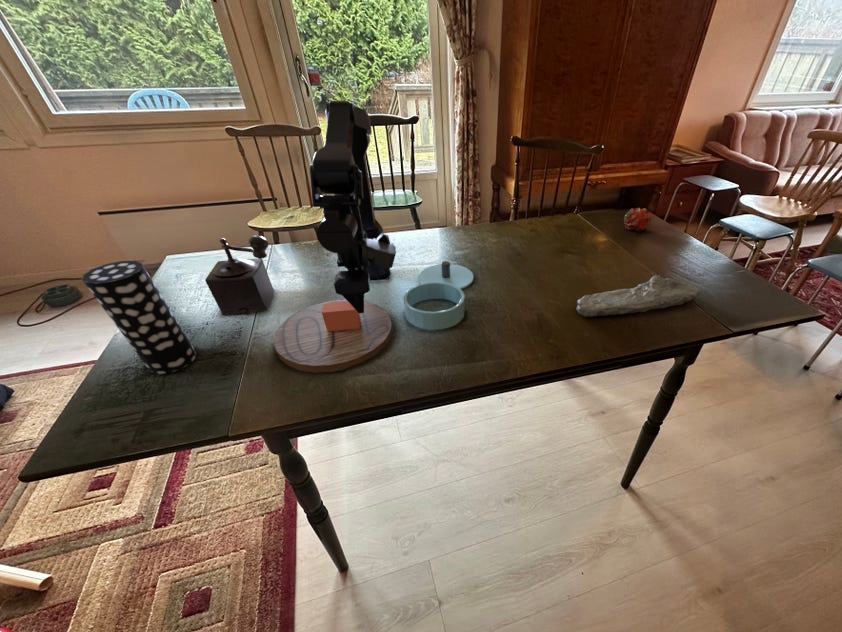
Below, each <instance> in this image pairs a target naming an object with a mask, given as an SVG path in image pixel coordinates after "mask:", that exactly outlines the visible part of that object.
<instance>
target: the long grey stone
mask: <svg viewBox="0 0 842 632" xmlns="http://www.w3.org/2000/svg"><path fill="white" fill-rule="evenodd" d="M698 295H699V288H698V287H696V285H694V284H692V283H689V282H683V281H681V280H678V279H676V278H670V277H667V278H666V277H665V278H664V277H662V276H661V275H653V276H652V277H650V279H649V280H648V281H646V282H644V283H639V284H638V285H637V286H635V287H630V288H622V289H621V288H619V289H614V290H611V291H610V290H609V291H603V292H597V293H593V294H584V295H583V296H582V297H580V298H579V299H577V301H576V304H577V305H576V312H577V313H578V314H579V315H580V316H582V317H585V318H592V317H598V316H599V317H604V316H605V317H606V316H614V315H620V316H621V315H624V314H635V313H645V312H647V311H650V310H655V309H656V310H657V309H665V308H669V307H673V306H681V305H684V303H687V302H691V301H692V300H695V299H696V298H697V296H698Z"/></svg>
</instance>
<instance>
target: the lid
mask: <svg viewBox="0 0 842 632" xmlns="http://www.w3.org/2000/svg"><path fill="white" fill-rule="evenodd" d="M473 281H474V273H473V272H472V271H471V270H470V269H469V268H467V267H466V266H463V265H459V264H453V263H451V262H450V261H448V260H443V261H441V263H439V264H435V265H430V266H427V267H426V268H423V269H422V270H421V271H420V273H418V282H419V284H422V283H427V282H445V283H449V284H452V285H455V286H457V287H459V288H460V289H461V290H463V289H465V288H467V287H469V286H470V285H471V284H472V283H473Z"/></svg>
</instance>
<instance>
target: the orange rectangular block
mask: <svg viewBox="0 0 842 632" xmlns="http://www.w3.org/2000/svg"><path fill="white" fill-rule="evenodd" d="M322 316H323V319H324V322H325V326H326V329H327V332H329V331H340V330H350V329H360V319H361V318H360V314H359V313H358V312H357V311H356V310H355V309H354V307H353V306H352V305H351V304H350V303H349V302H348V301H342V302H330V303H324V304H323V309H322Z"/></svg>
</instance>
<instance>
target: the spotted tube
mask: <svg viewBox="0 0 842 632" xmlns="http://www.w3.org/2000/svg"><path fill="white" fill-rule="evenodd" d="M81 281H82V282H83V283H84V285H85V286H86V288H87V289H88V290H89V291H90V293H91V294H92V295H93V297H94V298H95V299H96V301H97V302H98V303H99V305H100V306H101V307H102V309H103V310H104V311H105V313H106V314H107V315H108V317H109V318H110V320H111V321H112V322H113V323H114V325H115V326H116V328H117V329H118V330H119V332H120V333H121V334H122V336H123V337H124V338H125V339H126V341H127V342H128V344H129V345H130V346H131V348H132V349H133V350H134V352H135V353H136V355H137V356H138V357H139V358H140V360H141V361H142V363H143V364H144V365H145V366H146V368H147V369H148V371H149V372H150V373H153V374H157V375H158V374H159V375H163V374H169V373H174V372H177V371H180V370H182V369H184V368H186V367H187V366H189V365H190V364H192V363H193V362H194V360H196V358H197V355H198V354H197V352H196V349H195V348H194V346H193V344H192V343H191V341H190V339H189V338H188V336H187V335H186V333H185V332H184V330H183V328H182V326H181V325H180V323H179V321H178V320H177V318H176V317H175V315H174V314H173V311H172V310H171V309H170V306H169V305H168V303H167V302H166V300H165V298H164V297H163V295H162V294H161V292H160V291H159V289H158V287H157V286H156V284H155V282H154V281H153V279H152V278H151V275H150V274H149V273H148V271H147V269H146V268H145V266H144V265H143V263H142V262H140V261H137V260H121V261H114V262H110V263H105V264H102V265H98V266H97V267H93V268H92V269H90V270H88V271H86V272H85V273H84V274H83V275H82V276H81Z"/></svg>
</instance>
